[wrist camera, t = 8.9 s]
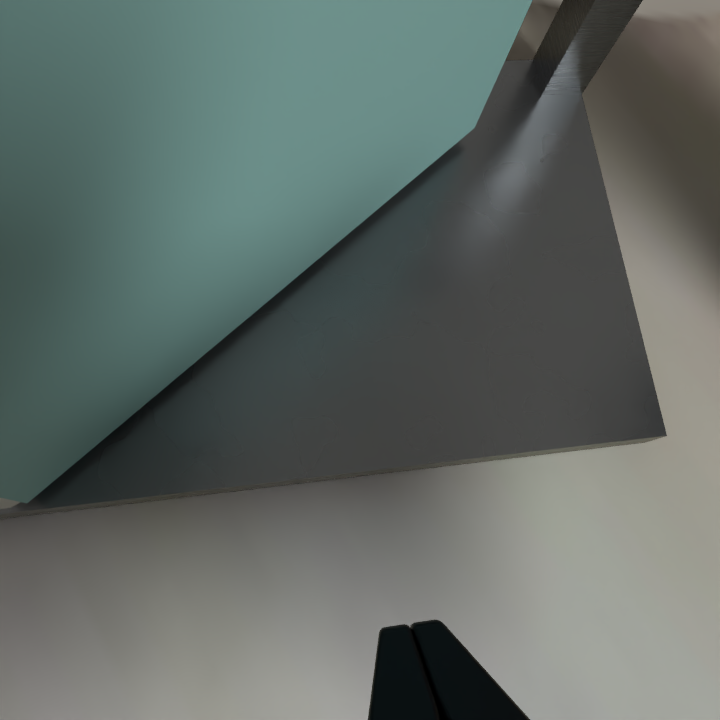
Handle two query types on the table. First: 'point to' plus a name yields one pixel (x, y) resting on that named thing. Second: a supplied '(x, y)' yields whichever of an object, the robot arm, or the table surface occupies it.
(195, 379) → the grey square frame stand
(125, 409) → the teal square panel
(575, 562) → the table surface
